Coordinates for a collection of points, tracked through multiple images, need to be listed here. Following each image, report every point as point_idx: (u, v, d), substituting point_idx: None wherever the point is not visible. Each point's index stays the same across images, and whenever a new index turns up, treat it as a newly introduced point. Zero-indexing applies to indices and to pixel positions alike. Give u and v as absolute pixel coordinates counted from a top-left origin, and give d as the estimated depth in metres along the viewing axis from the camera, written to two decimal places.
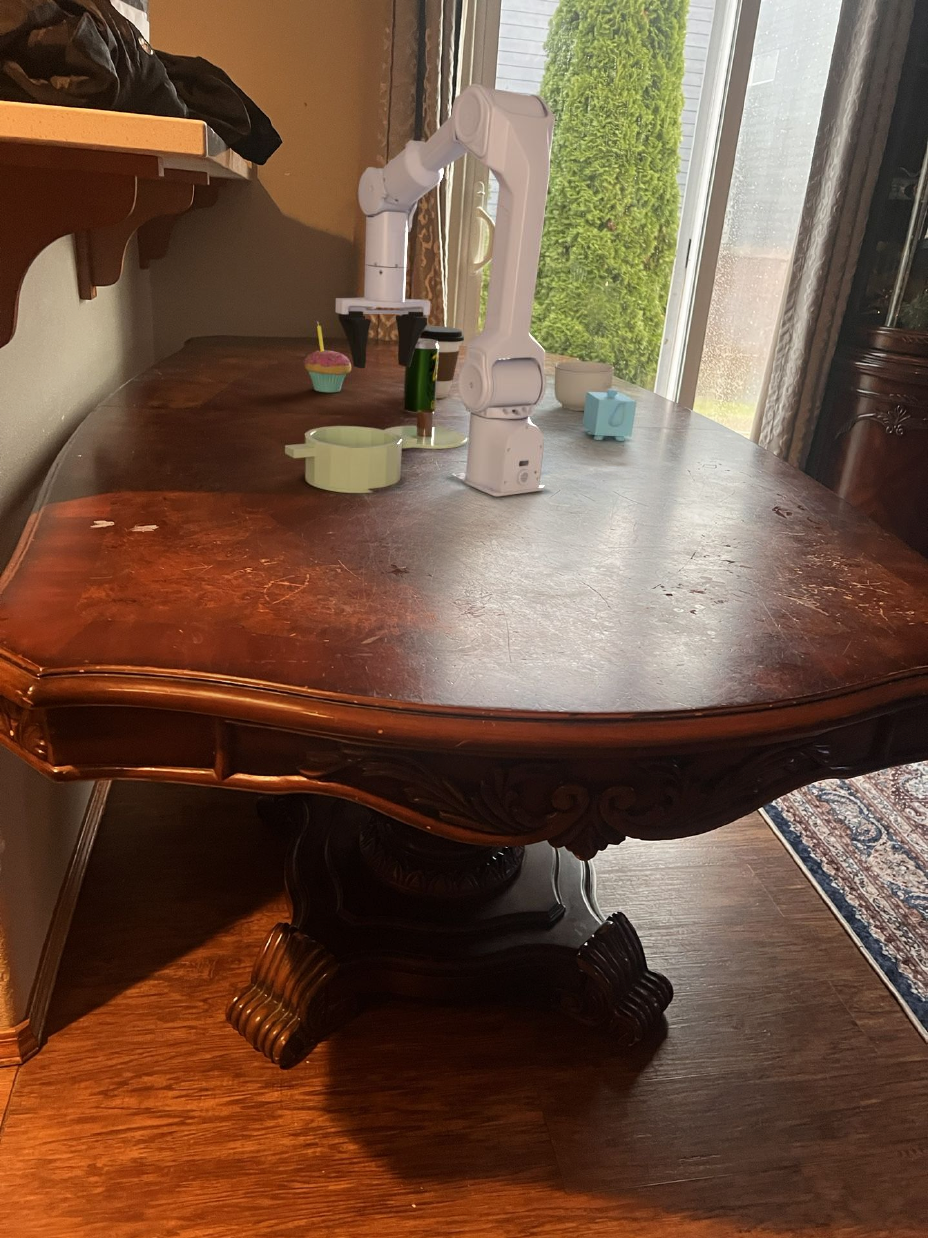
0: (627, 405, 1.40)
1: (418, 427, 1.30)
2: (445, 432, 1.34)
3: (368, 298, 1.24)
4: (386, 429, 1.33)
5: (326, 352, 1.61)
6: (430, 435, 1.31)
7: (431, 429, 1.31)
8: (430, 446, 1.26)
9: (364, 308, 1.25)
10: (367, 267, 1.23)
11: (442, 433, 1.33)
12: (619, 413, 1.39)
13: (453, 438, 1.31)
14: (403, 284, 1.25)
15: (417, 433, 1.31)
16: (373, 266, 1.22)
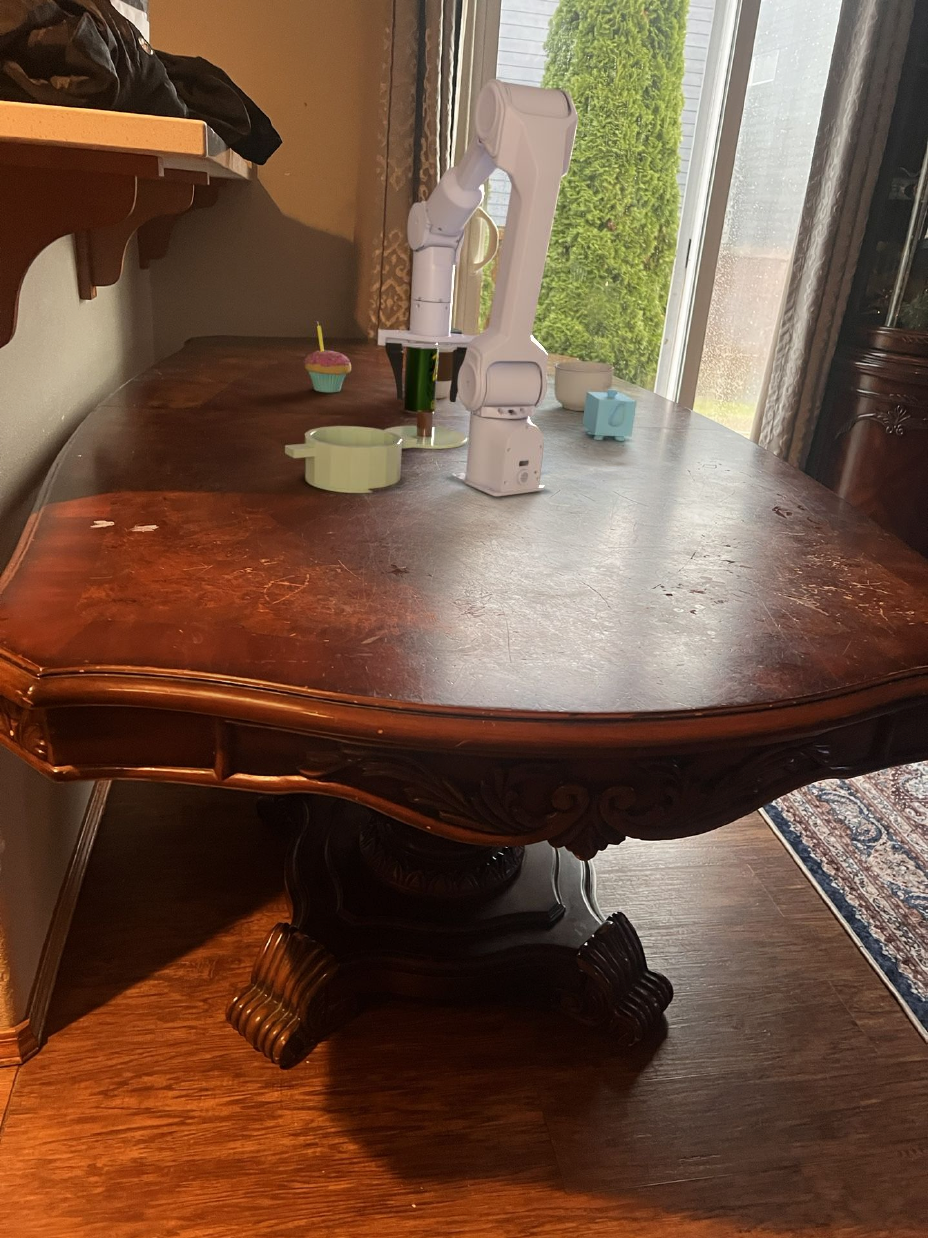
0: (627, 405, 1.40)
1: (418, 427, 1.30)
2: (445, 432, 1.34)
3: (409, 331, 1.25)
4: (386, 429, 1.33)
5: (326, 352, 1.61)
6: (430, 435, 1.31)
7: (431, 429, 1.31)
8: (430, 446, 1.26)
9: (405, 340, 1.26)
10: (411, 300, 1.24)
11: (442, 433, 1.33)
12: (619, 413, 1.39)
13: (453, 438, 1.31)
14: (443, 319, 1.23)
15: (417, 433, 1.31)
16: (413, 300, 1.23)
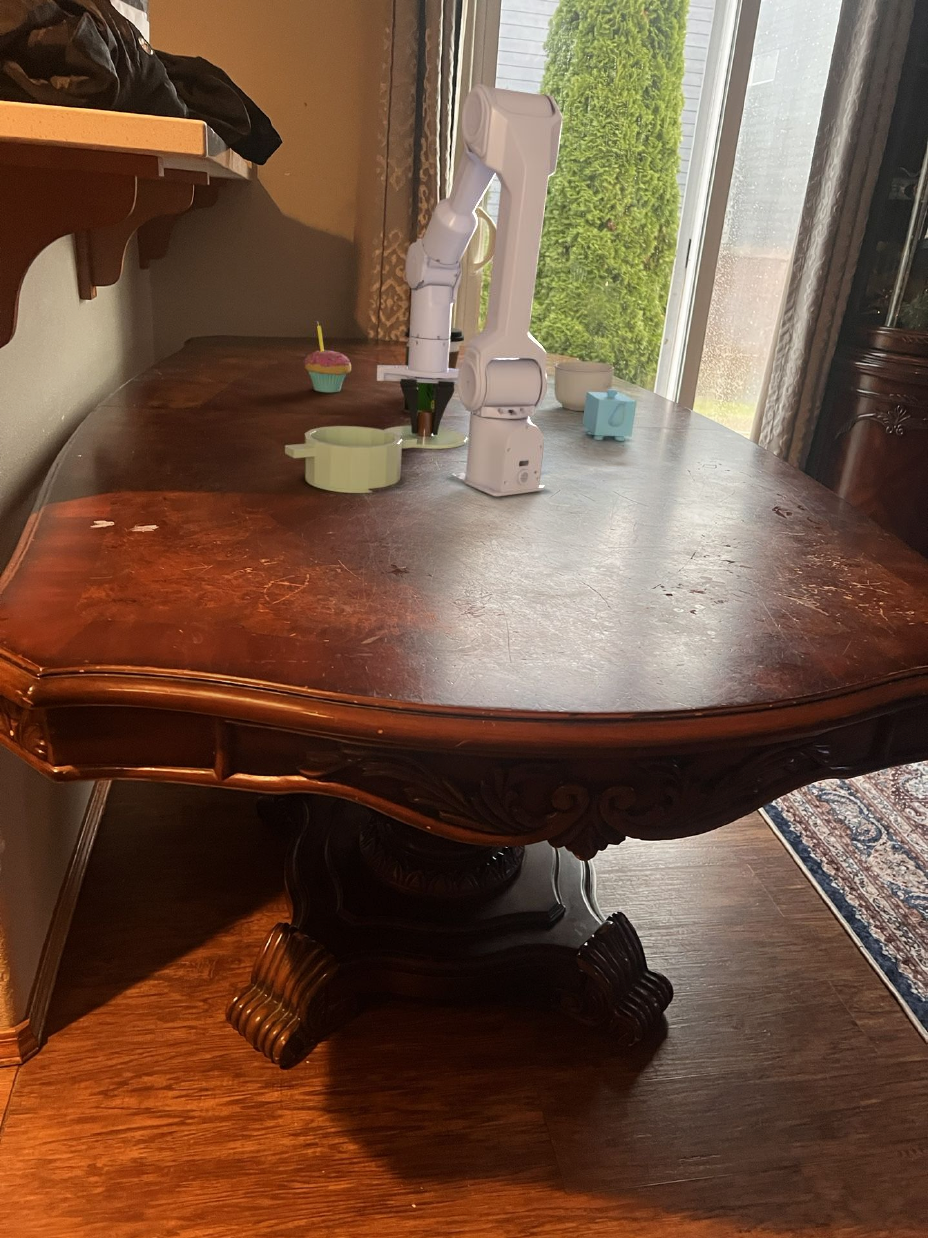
0: (627, 405, 1.40)
1: (418, 427, 1.30)
2: (445, 432, 1.34)
3: (408, 366, 1.27)
4: (386, 429, 1.33)
5: (326, 352, 1.61)
6: (430, 435, 1.31)
7: (431, 429, 1.31)
8: (430, 446, 1.26)
9: (404, 376, 1.28)
10: None
11: (442, 433, 1.33)
12: (619, 413, 1.39)
13: (453, 438, 1.31)
14: (441, 355, 1.25)
15: (417, 433, 1.31)
16: (411, 336, 1.25)
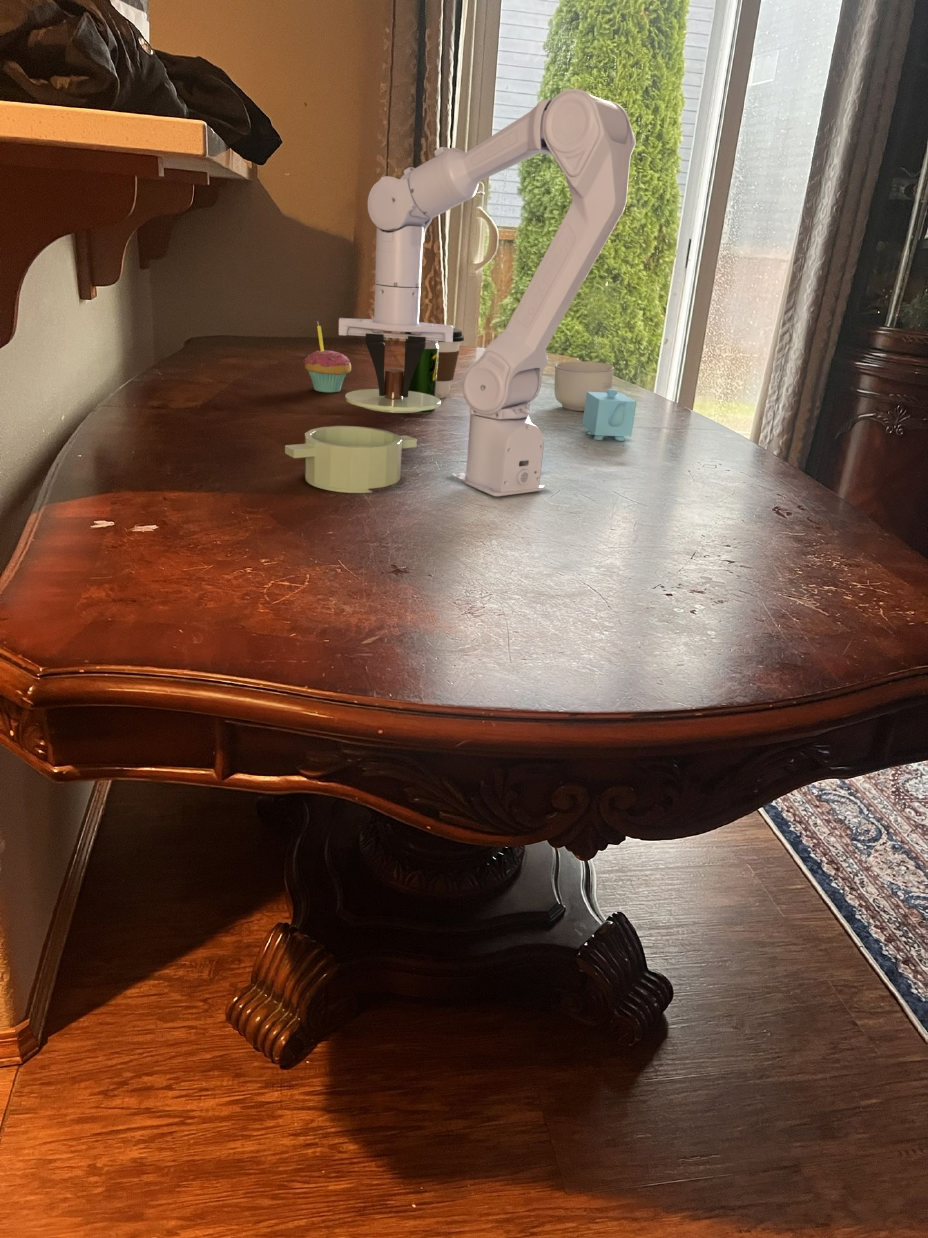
0: (627, 405, 1.40)
1: (386, 388, 1.17)
2: (417, 395, 1.21)
3: (374, 319, 1.13)
4: None
5: (326, 352, 1.61)
6: (399, 397, 1.17)
7: (400, 391, 1.17)
8: (398, 408, 1.12)
9: (369, 330, 1.14)
10: None
11: (414, 396, 1.20)
12: (619, 413, 1.39)
13: (425, 401, 1.17)
14: (410, 306, 1.11)
15: (385, 395, 1.17)
16: (376, 285, 1.11)
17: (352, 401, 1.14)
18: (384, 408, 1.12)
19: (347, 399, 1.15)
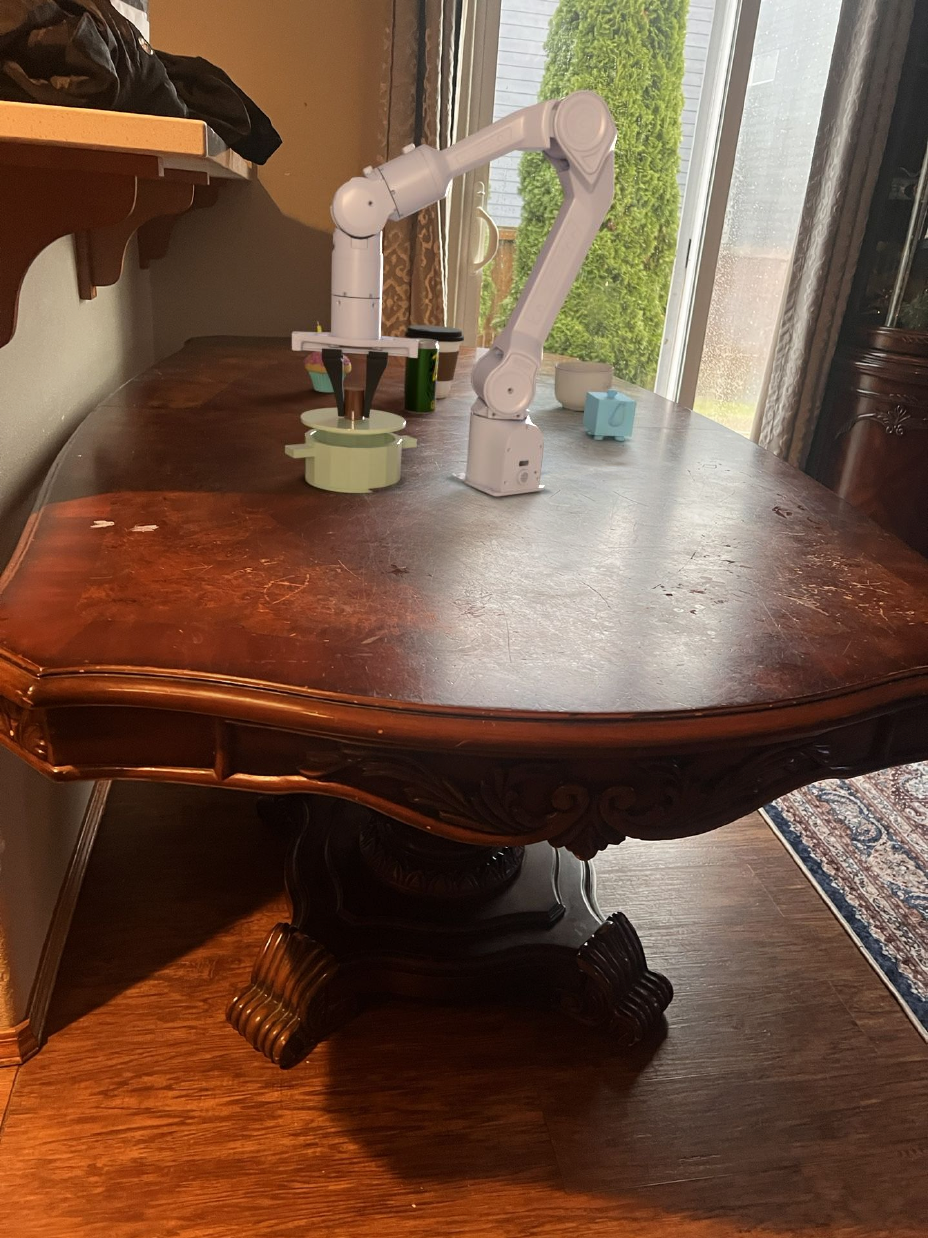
0: (627, 405, 1.40)
1: (345, 408, 1.06)
2: (381, 415, 1.10)
3: (331, 333, 1.03)
4: (308, 411, 1.09)
5: None
6: (360, 418, 1.07)
7: (361, 411, 1.07)
8: (357, 431, 1.02)
9: (326, 345, 1.04)
10: (331, 296, 1.02)
11: (376, 416, 1.10)
12: (619, 413, 1.39)
13: (388, 422, 1.07)
14: (370, 318, 1.01)
15: (344, 416, 1.07)
16: (333, 295, 1.01)
17: (307, 423, 1.04)
18: (342, 431, 1.02)
19: (302, 420, 1.05)
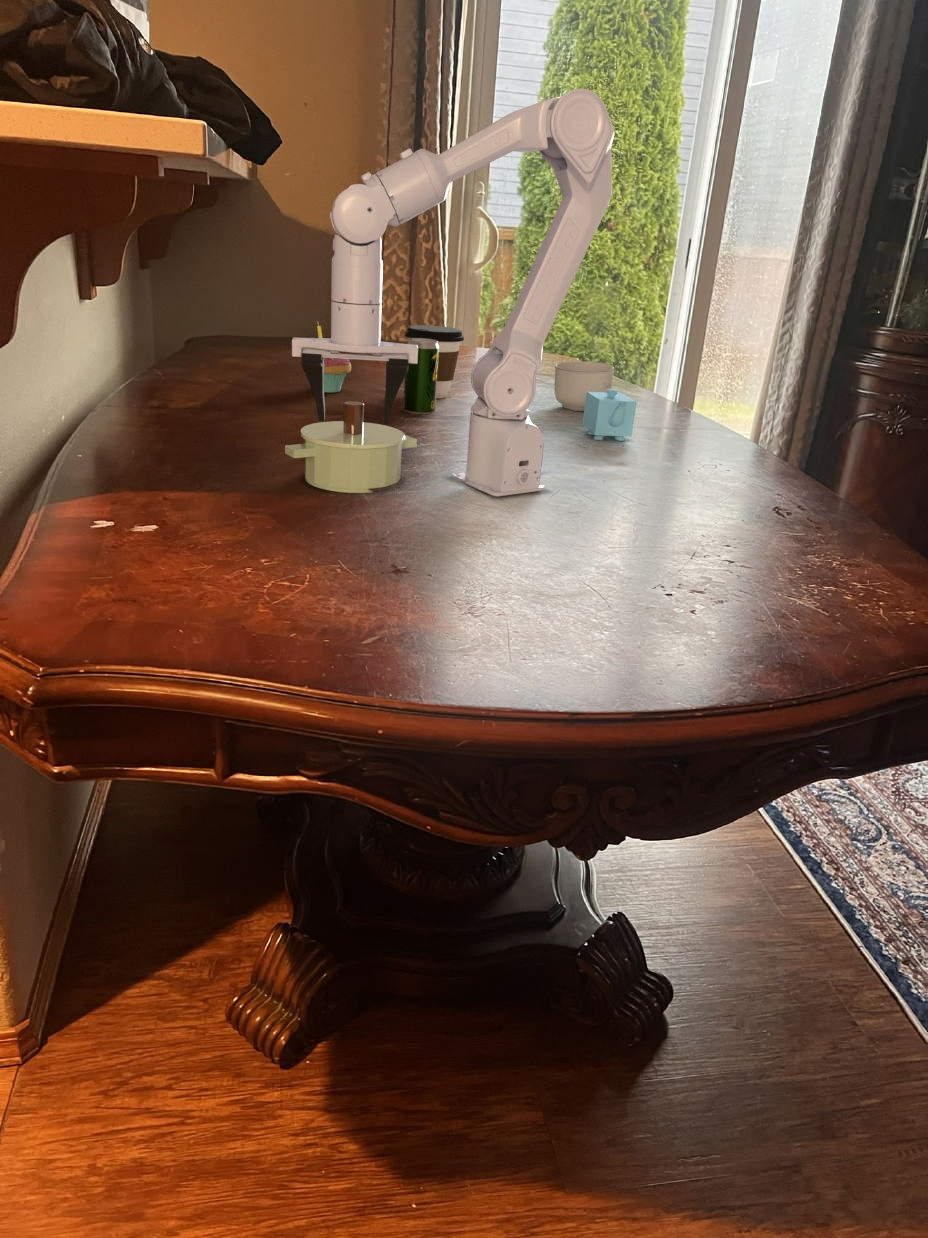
0: (627, 405, 1.40)
1: (345, 423, 1.07)
2: (380, 429, 1.11)
3: (331, 339, 1.03)
4: (308, 425, 1.10)
5: None
6: (360, 432, 1.08)
7: (361, 425, 1.07)
8: (356, 446, 1.03)
9: (326, 351, 1.04)
10: (331, 302, 1.02)
11: (376, 430, 1.10)
12: (619, 413, 1.39)
13: (388, 436, 1.08)
14: (370, 324, 1.01)
15: (344, 430, 1.08)
16: (333, 301, 1.01)
17: (307, 437, 1.05)
18: (341, 446, 1.03)
19: (302, 435, 1.06)
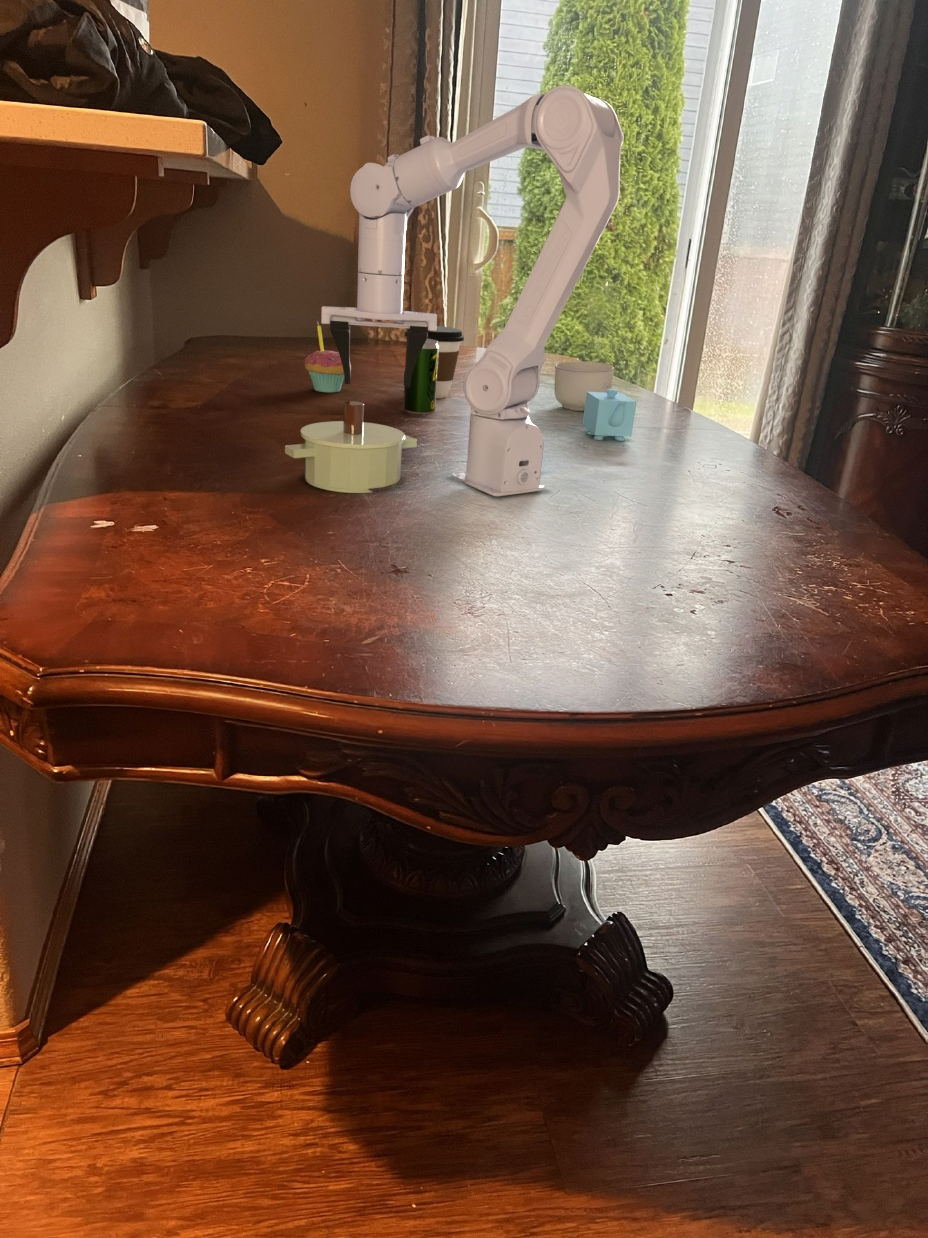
0: (627, 405, 1.40)
1: (345, 423, 1.07)
2: (380, 429, 1.11)
3: (357, 308, 1.13)
4: (308, 425, 1.10)
5: (326, 352, 1.61)
6: (360, 432, 1.08)
7: (361, 425, 1.07)
8: (356, 446, 1.03)
9: (352, 319, 1.13)
10: None
11: (376, 430, 1.10)
12: (619, 413, 1.39)
13: (388, 436, 1.08)
14: (393, 294, 1.10)
15: (344, 430, 1.08)
16: (359, 272, 1.10)
17: (307, 437, 1.05)
18: (341, 446, 1.03)
19: (302, 435, 1.06)
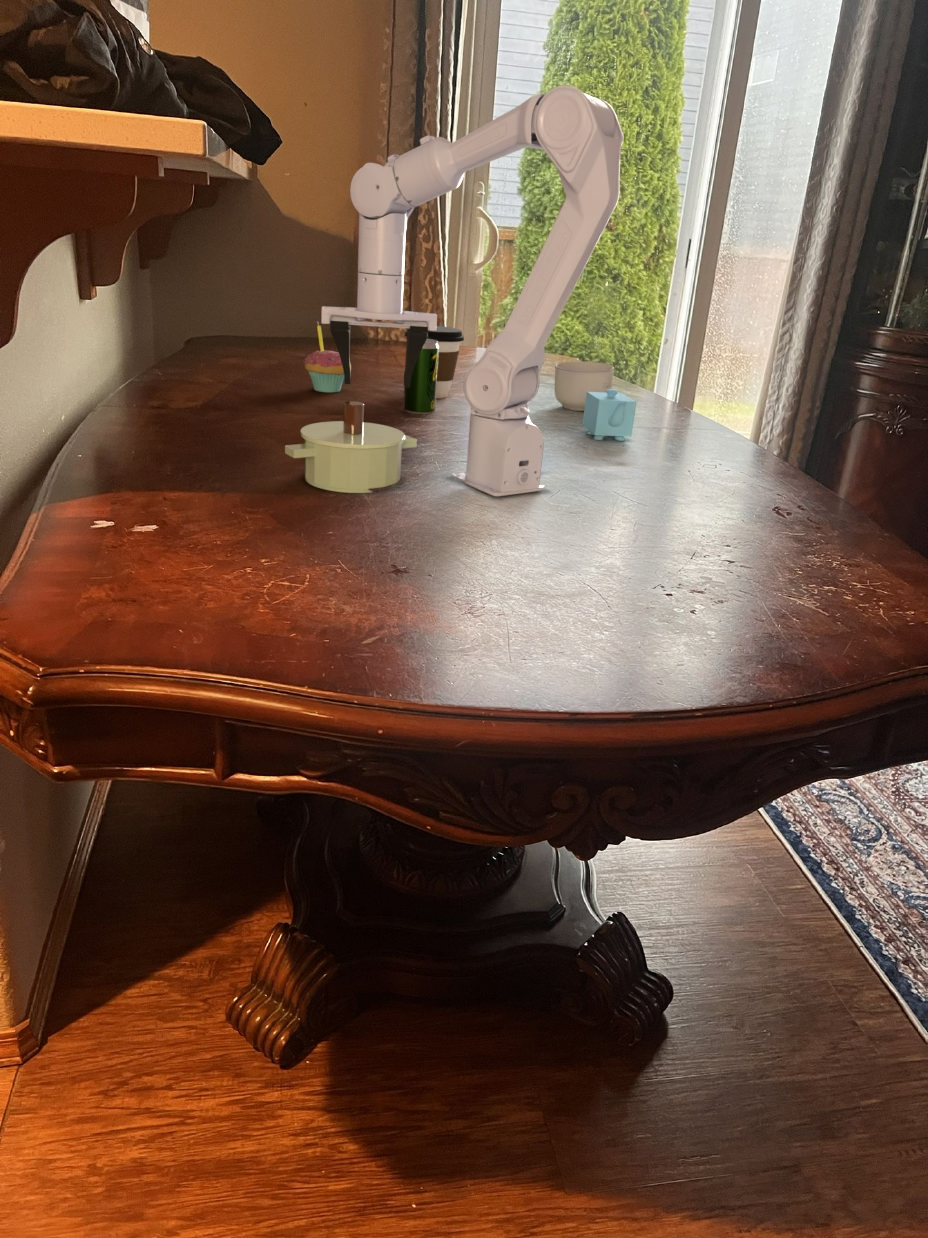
0: (627, 405, 1.40)
1: (345, 423, 1.07)
2: (380, 429, 1.11)
3: (357, 308, 1.13)
4: (308, 425, 1.10)
5: (326, 352, 1.61)
6: (360, 432, 1.08)
7: (361, 425, 1.07)
8: (356, 446, 1.03)
9: (352, 319, 1.13)
10: None
11: (376, 430, 1.10)
12: (619, 413, 1.39)
13: (388, 436, 1.08)
14: (393, 294, 1.10)
15: (344, 430, 1.08)
16: (359, 272, 1.10)
17: (307, 437, 1.05)
18: (341, 446, 1.03)
19: (302, 435, 1.06)
